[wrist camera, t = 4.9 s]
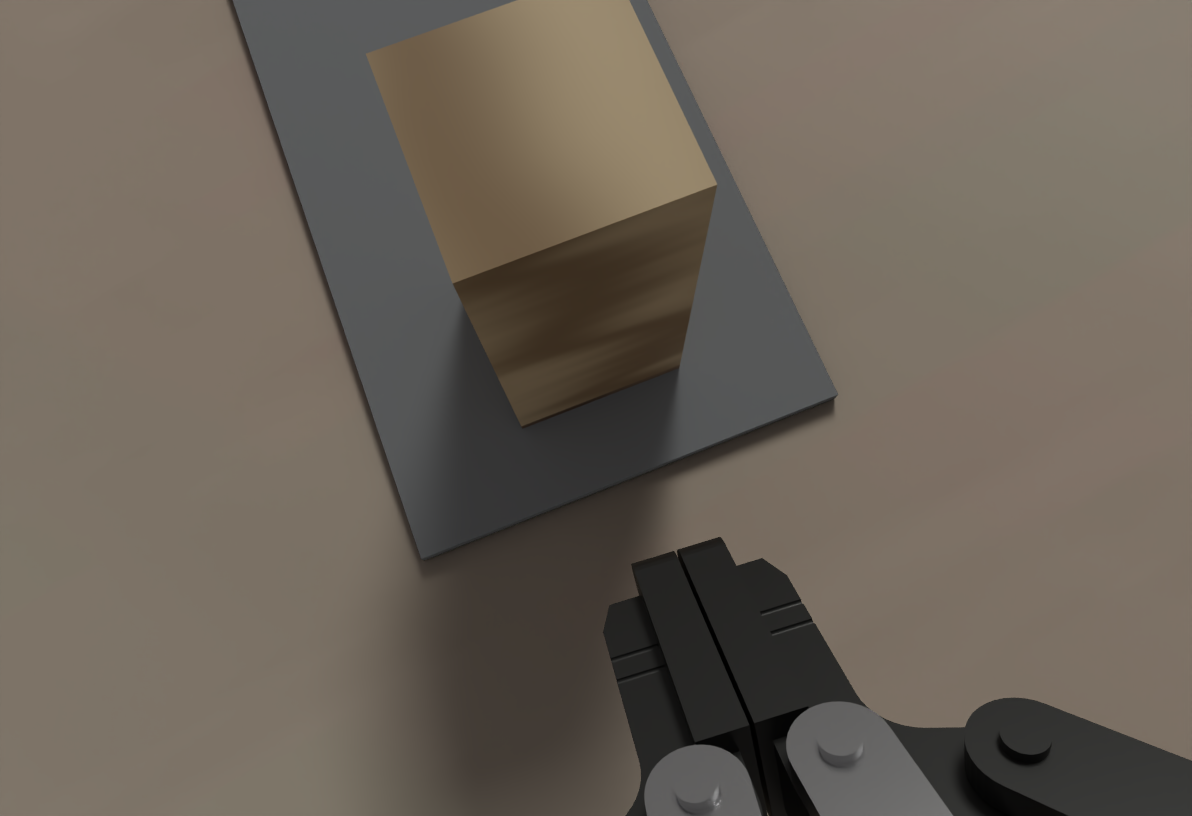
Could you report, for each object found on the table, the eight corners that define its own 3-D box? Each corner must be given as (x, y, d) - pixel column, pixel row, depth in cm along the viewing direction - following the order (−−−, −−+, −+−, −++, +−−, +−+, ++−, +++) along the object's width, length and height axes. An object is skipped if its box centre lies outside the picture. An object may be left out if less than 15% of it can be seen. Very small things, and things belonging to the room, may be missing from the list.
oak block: (617, 225, 28) (612, -34, 17) (679, 367, 26) (717, 184, 16) (466, 282, 27) (365, 53, 17) (522, 428, 26) (452, 283, 15)
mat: (570, -150, 32) (569, -160, 31) (834, 397, 26) (838, 394, 26) (224, -31, 31) (219, -39, 31) (424, 560, 26) (420, 559, 25)
